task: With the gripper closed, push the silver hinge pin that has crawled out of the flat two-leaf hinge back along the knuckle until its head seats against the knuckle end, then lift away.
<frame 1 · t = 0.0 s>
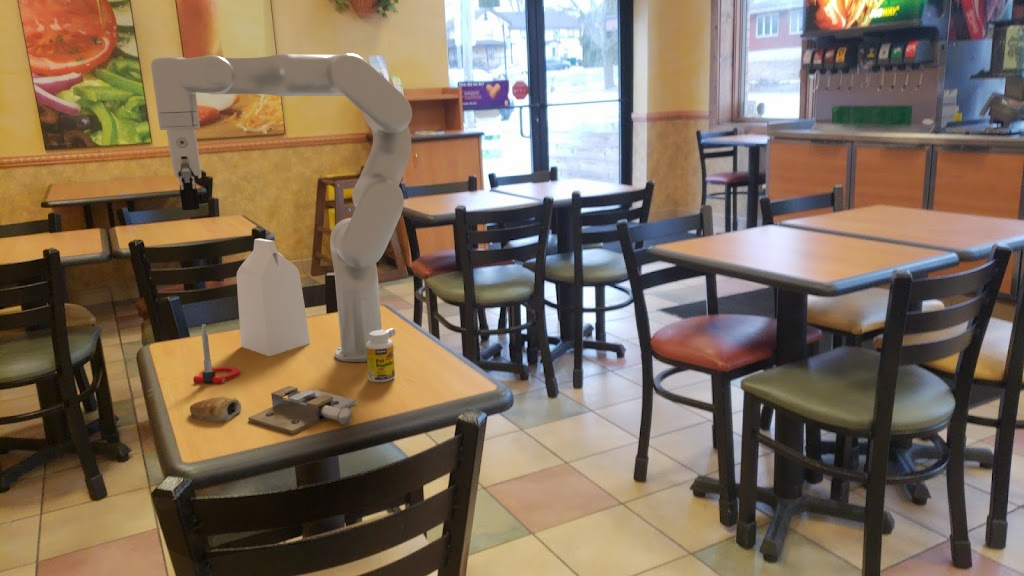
hand: (190, 206, 162), 37 cm above the table, tool pointing down, fingers open, 9 cm apart
milk: (275, 345, 192), on the table
pastry: (217, 417, 151), on the table
supplement bottle: (382, 379, 167), on the table
pin: (321, 409, 147), point 2 cm above the table, slide at 4.5 cm
tow hook: (218, 377, 172), on the table
hinge leaves: (303, 412, 151), on the table
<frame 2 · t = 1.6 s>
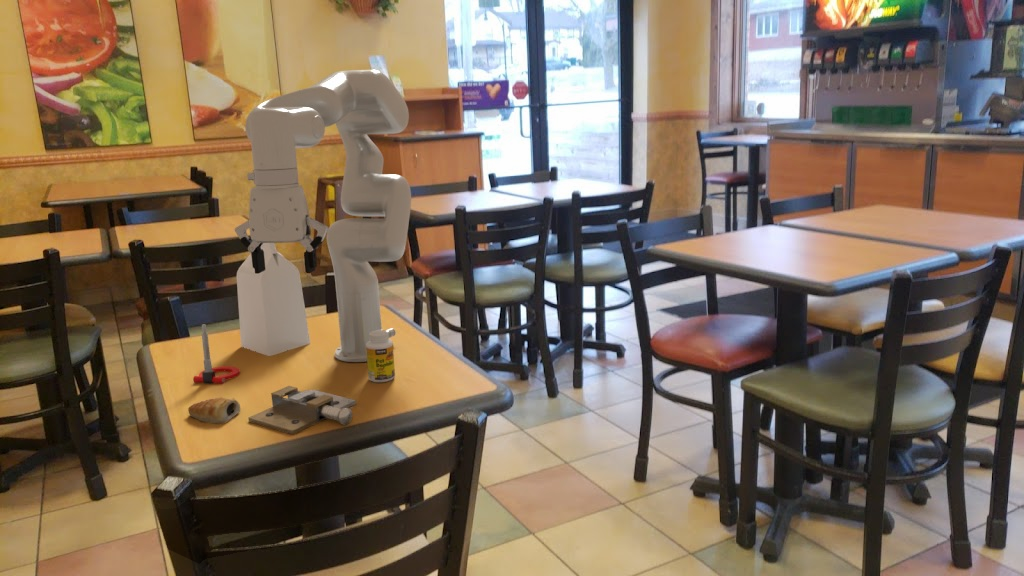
hand: (285, 272, 146), 27 cm above the table, tool pointing down, fingers open, 9 cm apart
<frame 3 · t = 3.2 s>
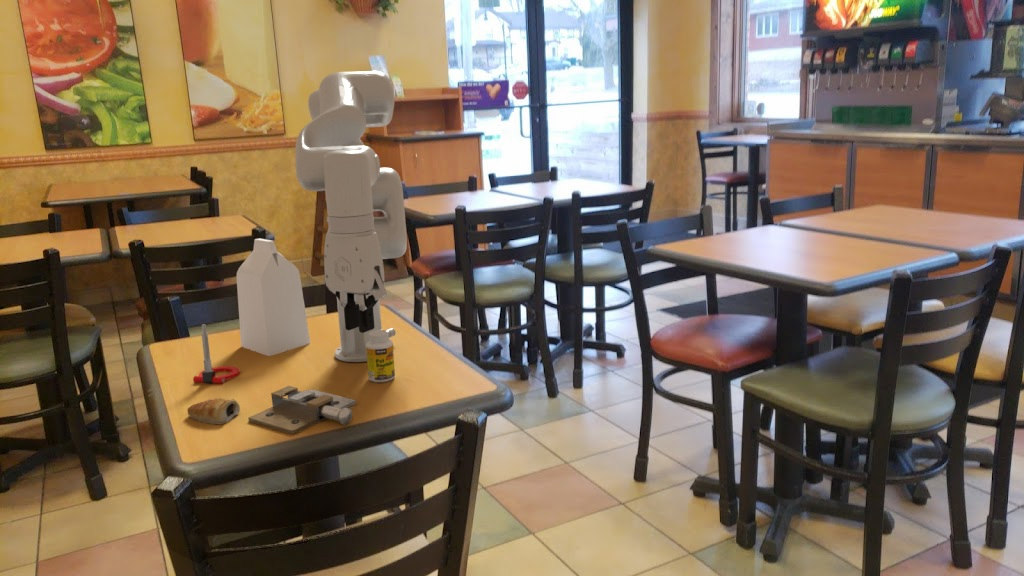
hand: (360, 328, 137), 19 cm above the table, tool pointing down, fingers closed
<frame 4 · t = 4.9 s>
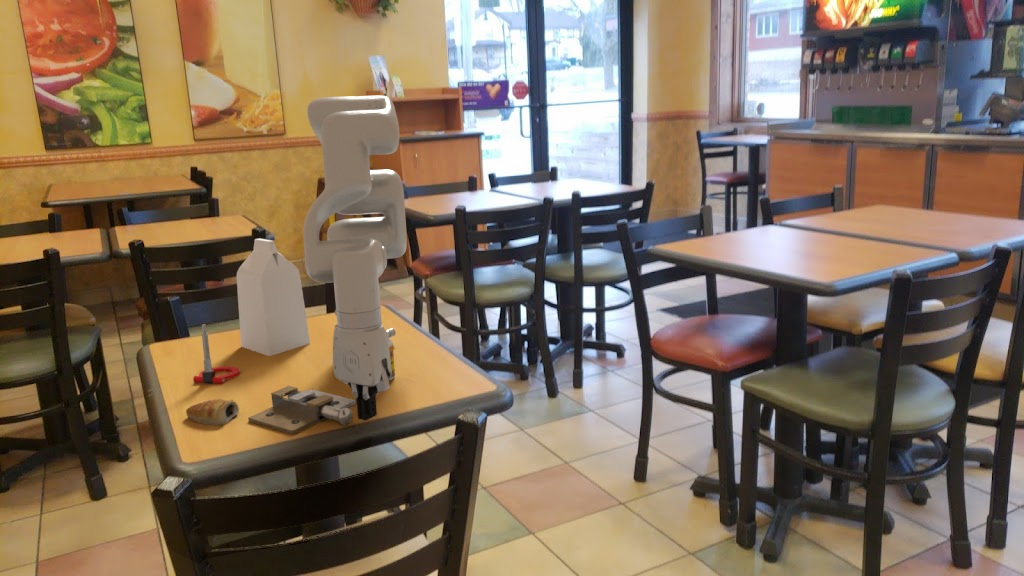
hand: (367, 417, 140), 3 cm above the table, tool pointing down, fingers closed
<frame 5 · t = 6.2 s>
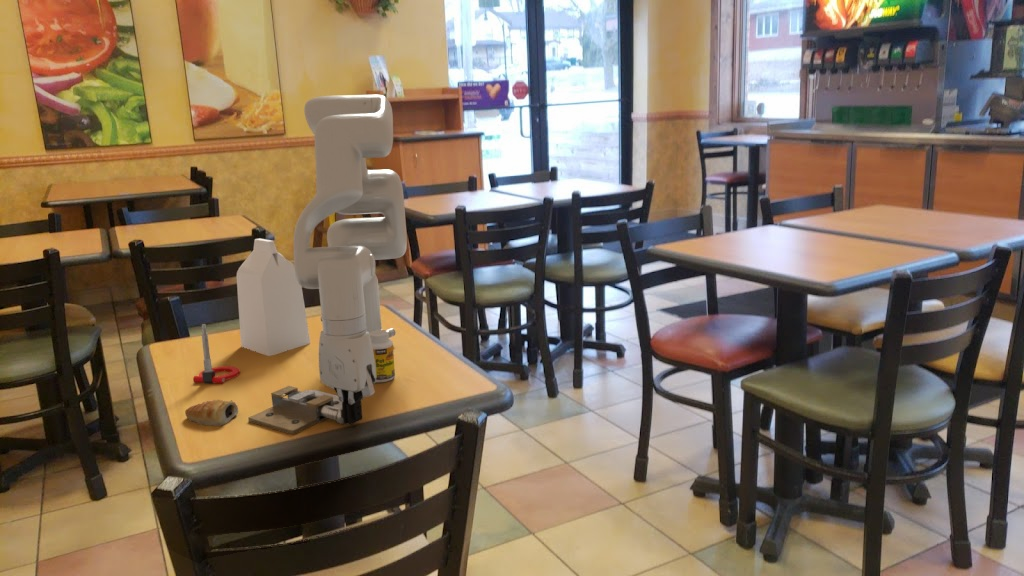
hand: (353, 421, 143), 1 cm above the table, tool pointing down, fingers closed
pin: (319, 409, 148), point 2 cm above the table, slide at 4.1 cm, touching gripper
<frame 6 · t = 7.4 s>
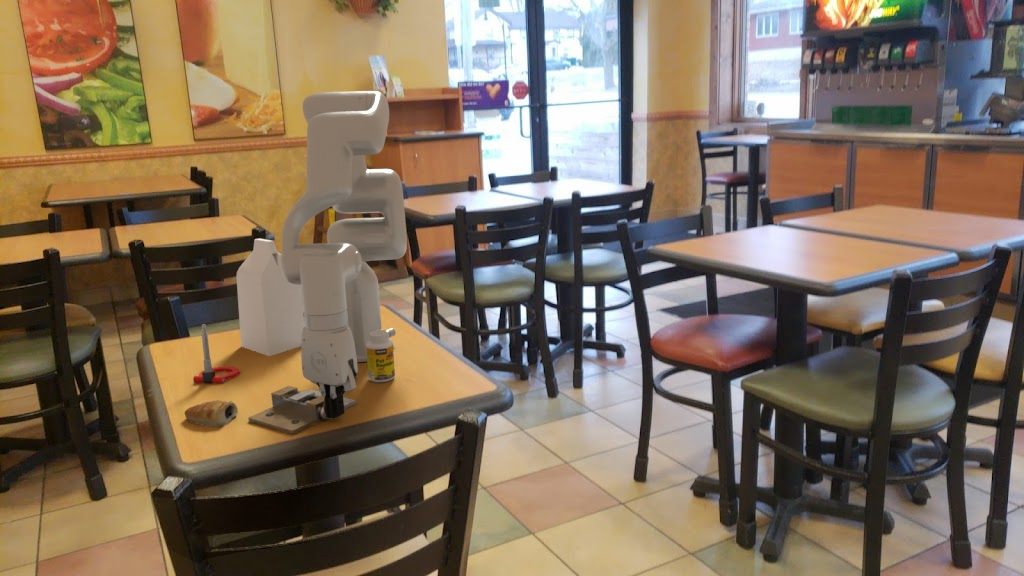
hand: (335, 415, 146), 1 cm above the table, tool pointing down, fingers closed
pin: (303, 405, 150), point 2 cm above the table, slide at -0.2 cm, touching gripper, hinge leaves
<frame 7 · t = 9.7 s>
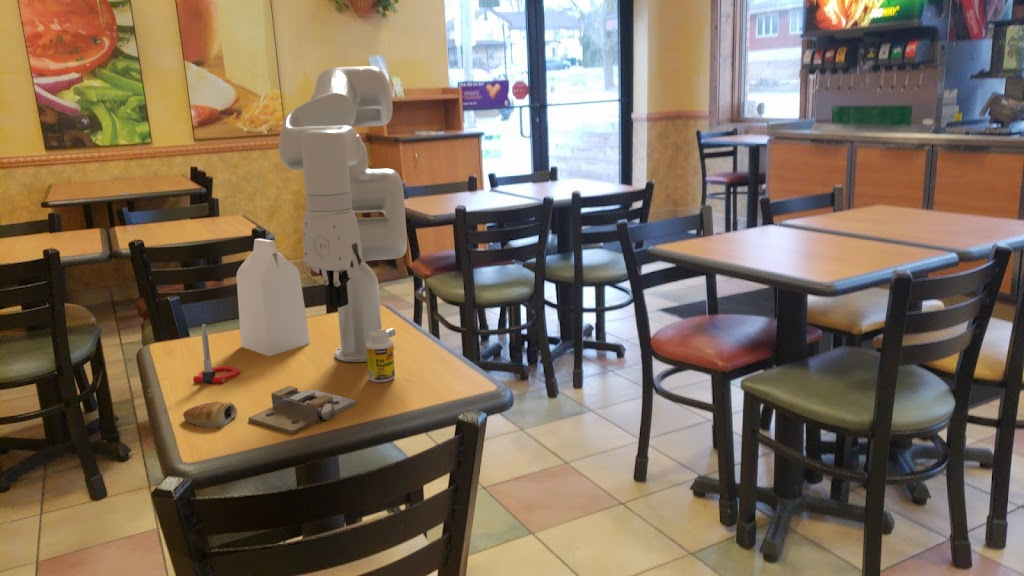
hand: (338, 305, 140), 22 cm above the table, tool pointing down, fingers closed
pin: (304, 405, 150), point 2 cm above the table, slide at -0.1 cm
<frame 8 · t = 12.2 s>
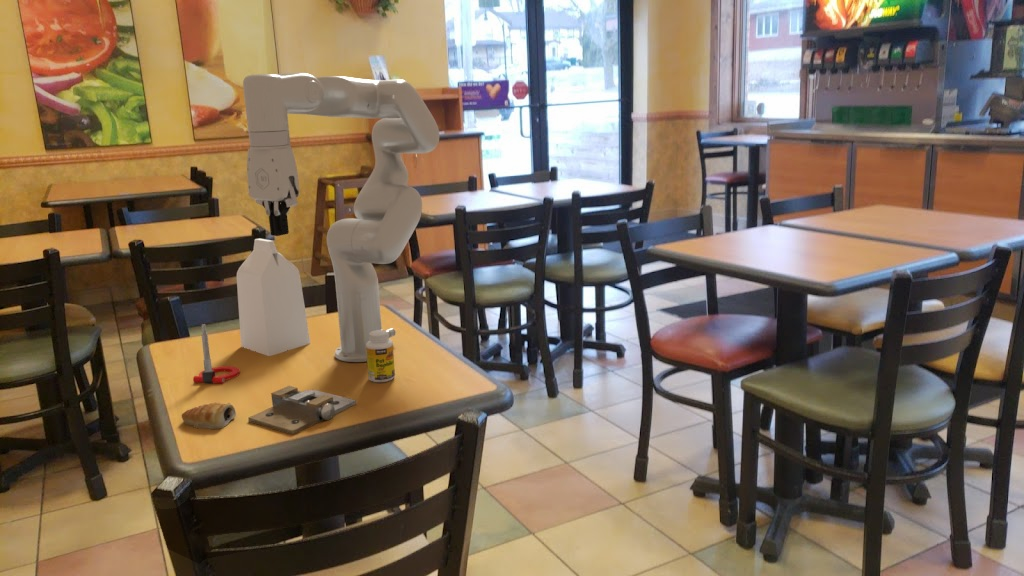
hand: (279, 234, 156), 32 cm above the table, tool pointing down, fingers closed
at the end: pin slide at -0.1 cm; the gripper is holding nothing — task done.
